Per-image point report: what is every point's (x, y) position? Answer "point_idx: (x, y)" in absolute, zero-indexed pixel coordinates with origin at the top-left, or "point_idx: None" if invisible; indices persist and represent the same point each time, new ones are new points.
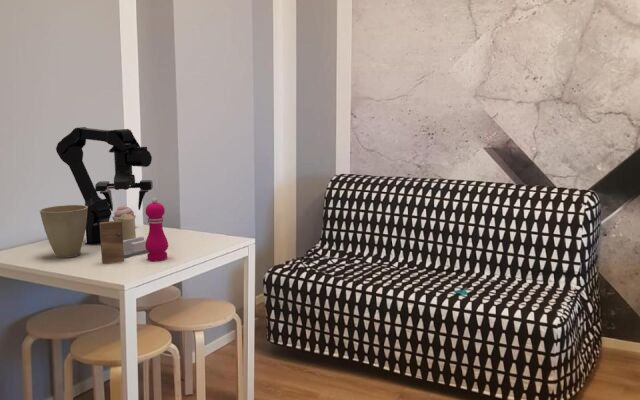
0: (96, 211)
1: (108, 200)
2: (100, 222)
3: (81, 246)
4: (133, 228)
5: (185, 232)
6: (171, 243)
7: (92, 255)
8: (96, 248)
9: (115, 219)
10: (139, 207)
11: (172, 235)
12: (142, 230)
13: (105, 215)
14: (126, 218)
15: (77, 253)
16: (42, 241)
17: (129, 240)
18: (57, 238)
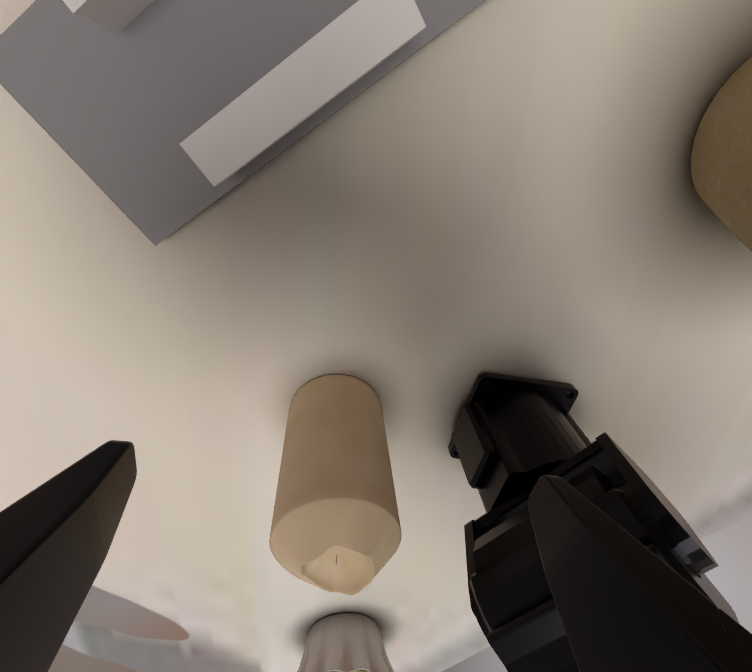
0: (663, 550)
1: (738, 641)
2: None
3: (738, 108)
4: (291, 449)
5: None
6: (10, 255)
7: (630, 37)
8: (541, 280)
9: (386, 669)
10: (86, 464)
11: None
12: (262, 591)
13: (532, 540)
14: (340, 509)
15: (744, 68)
16: (712, 504)
17: (328, 26)
18: None
